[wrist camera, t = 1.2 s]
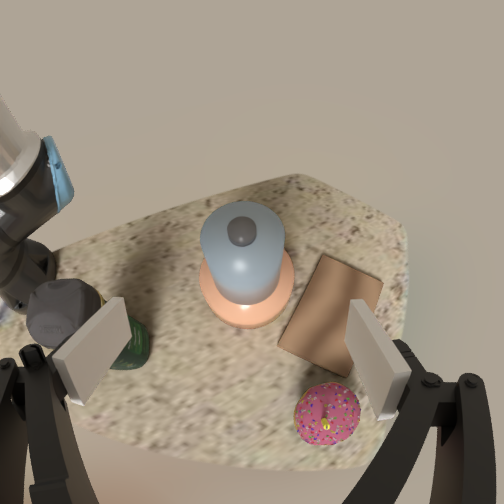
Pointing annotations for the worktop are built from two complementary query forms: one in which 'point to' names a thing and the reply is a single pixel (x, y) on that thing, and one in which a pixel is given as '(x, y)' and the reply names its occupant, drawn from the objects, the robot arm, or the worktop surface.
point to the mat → (328, 315)
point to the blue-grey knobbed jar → (244, 251)
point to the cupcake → (327, 414)
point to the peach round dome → (253, 313)
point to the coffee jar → (78, 319)
